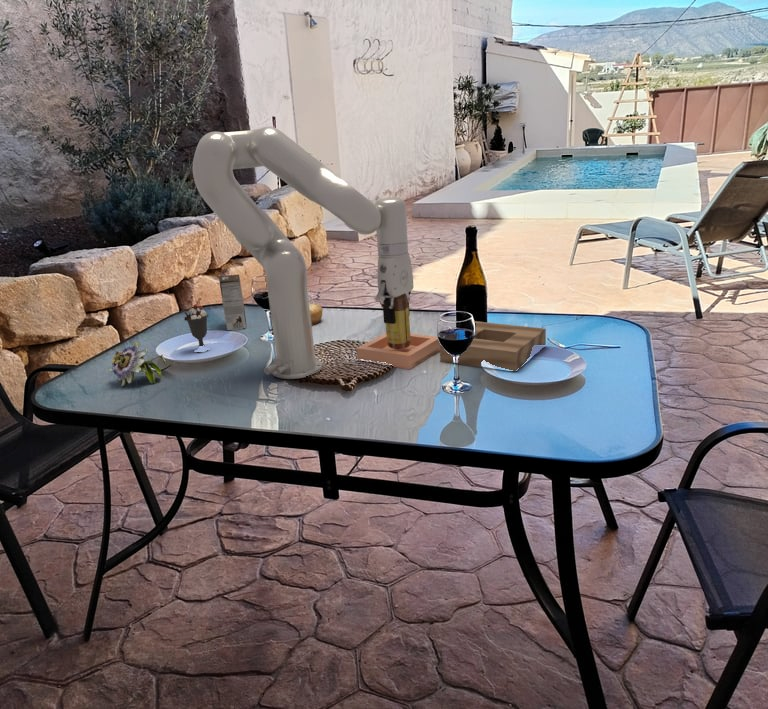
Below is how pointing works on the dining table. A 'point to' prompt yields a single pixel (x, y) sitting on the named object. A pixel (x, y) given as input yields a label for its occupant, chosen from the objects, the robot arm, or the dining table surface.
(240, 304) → the coffee box
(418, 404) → the dining table surface
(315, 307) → the pastry
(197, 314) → the sundae
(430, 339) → the tray
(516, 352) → the holder block
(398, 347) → the sauce bottle
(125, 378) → the passion flower
